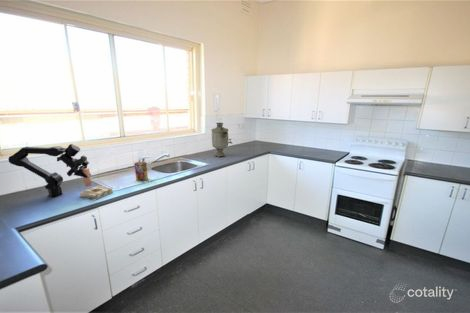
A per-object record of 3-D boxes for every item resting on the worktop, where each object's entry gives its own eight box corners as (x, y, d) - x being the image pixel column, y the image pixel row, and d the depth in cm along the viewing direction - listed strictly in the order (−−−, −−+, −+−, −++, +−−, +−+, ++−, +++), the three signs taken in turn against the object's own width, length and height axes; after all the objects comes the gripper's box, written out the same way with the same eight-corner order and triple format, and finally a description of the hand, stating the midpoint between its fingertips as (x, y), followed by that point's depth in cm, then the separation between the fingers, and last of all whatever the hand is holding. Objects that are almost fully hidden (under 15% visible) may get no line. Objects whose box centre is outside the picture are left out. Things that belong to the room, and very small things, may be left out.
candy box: (147, 178, 198) (146, 161, 195) (147, 179, 194) (145, 162, 191) (136, 178, 196) (135, 161, 193) (135, 180, 192) (134, 162, 188)
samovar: (235, 159, 267) (236, 124, 257) (213, 159, 262) (212, 124, 252) (230, 153, 295) (231, 121, 286) (210, 153, 290) (209, 121, 280)
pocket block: (95, 199, 155) (94, 195, 154) (80, 196, 160) (80, 192, 159) (112, 192, 168) (112, 188, 167) (98, 189, 173) (98, 185, 172)
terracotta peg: (87, 186, 159) (85, 170, 157) (83, 185, 161) (81, 169, 158) (92, 184, 163) (90, 168, 160) (88, 184, 164) (86, 167, 162)
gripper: (69, 156, 147) (89, 172, 151) (84, 150, 165) (102, 164, 169) (57, 168, 148) (78, 184, 152) (74, 160, 166) (92, 175, 170)
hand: (88, 176), depth 161 cm, fingers closed on terracotta peg, 4 cm apart
